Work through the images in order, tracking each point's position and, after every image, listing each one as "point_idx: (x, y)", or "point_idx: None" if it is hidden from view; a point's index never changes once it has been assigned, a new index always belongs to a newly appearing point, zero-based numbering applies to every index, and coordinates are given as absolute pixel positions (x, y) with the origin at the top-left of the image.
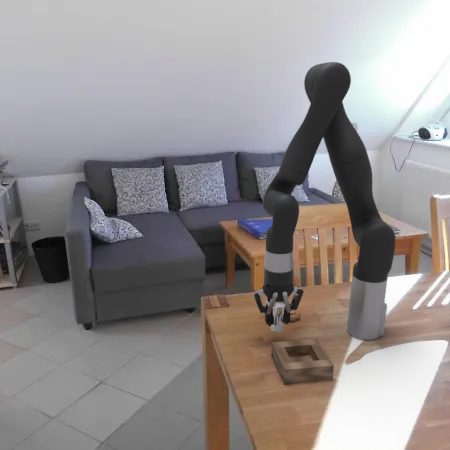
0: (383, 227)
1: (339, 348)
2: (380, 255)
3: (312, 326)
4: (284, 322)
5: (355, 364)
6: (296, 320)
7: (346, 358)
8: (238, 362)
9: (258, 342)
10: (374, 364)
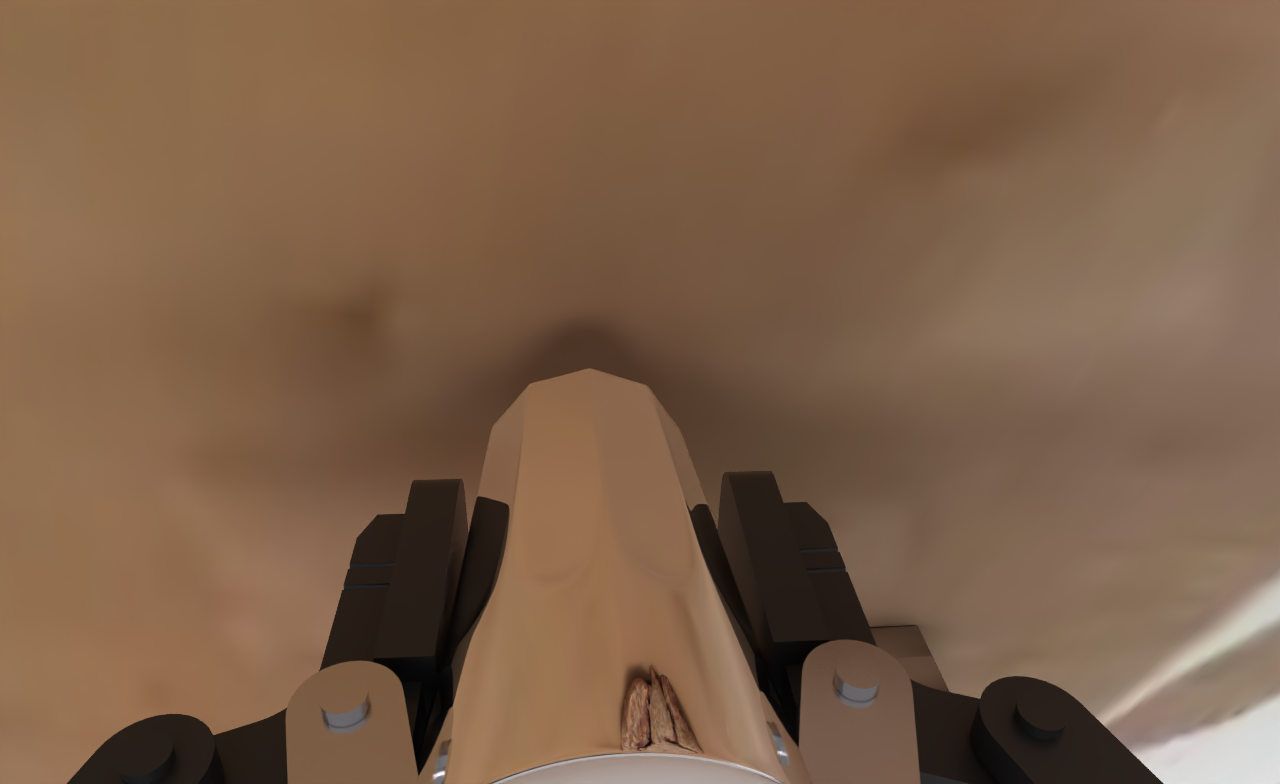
0: None
1: (1183, 587)
2: None
3: (1242, 103)
4: (721, 536)
5: None
6: None
7: (1126, 711)
8: (59, 714)
9: (315, 408)
10: (1271, 777)
